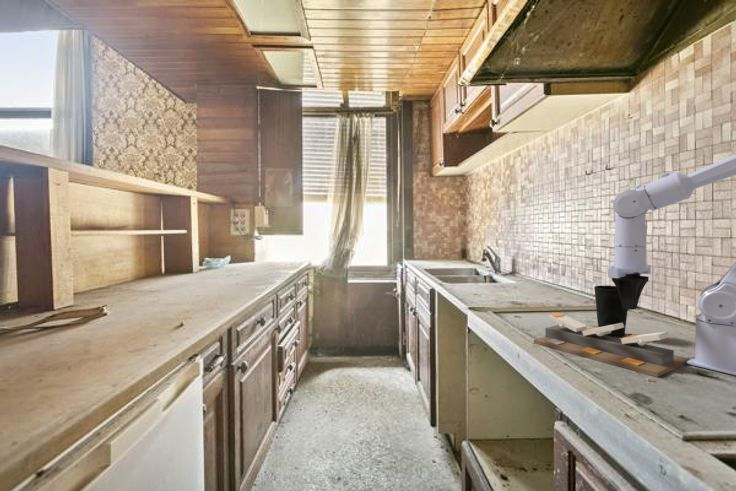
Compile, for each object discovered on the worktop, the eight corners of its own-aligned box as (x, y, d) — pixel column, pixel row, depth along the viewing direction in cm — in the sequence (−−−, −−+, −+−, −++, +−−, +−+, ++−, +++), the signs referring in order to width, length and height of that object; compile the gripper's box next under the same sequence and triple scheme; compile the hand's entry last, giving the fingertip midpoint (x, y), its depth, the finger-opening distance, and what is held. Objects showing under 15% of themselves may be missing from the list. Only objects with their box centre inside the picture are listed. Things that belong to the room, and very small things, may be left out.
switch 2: (625, 330, 80) (622, 321, 81) (616, 333, 78) (612, 324, 79) (594, 336, 86) (591, 328, 87) (584, 338, 84) (581, 330, 85)
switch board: (689, 362, 75) (689, 347, 75) (657, 377, 68) (657, 360, 68) (568, 334, 97) (568, 322, 97) (533, 343, 89) (533, 330, 89)
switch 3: (670, 340, 74) (667, 330, 74) (661, 343, 72) (657, 333, 72) (633, 344, 79) (629, 335, 80) (623, 347, 77) (620, 338, 78)
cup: (594, 336, 95) (595, 288, 94) (592, 329, 101) (593, 284, 101) (631, 340, 91) (632, 290, 91) (627, 332, 98) (627, 286, 97)
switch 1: (585, 332, 88) (587, 325, 87) (575, 334, 86) (577, 327, 85) (557, 319, 94) (559, 312, 93) (547, 321, 92) (549, 314, 91)
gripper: (626, 245, 89) (626, 302, 90) (593, 247, 82) (592, 309, 82) (661, 245, 83) (661, 307, 84) (629, 248, 76) (628, 315, 76)
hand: (629, 308), depth 82 cm, fingers closed
